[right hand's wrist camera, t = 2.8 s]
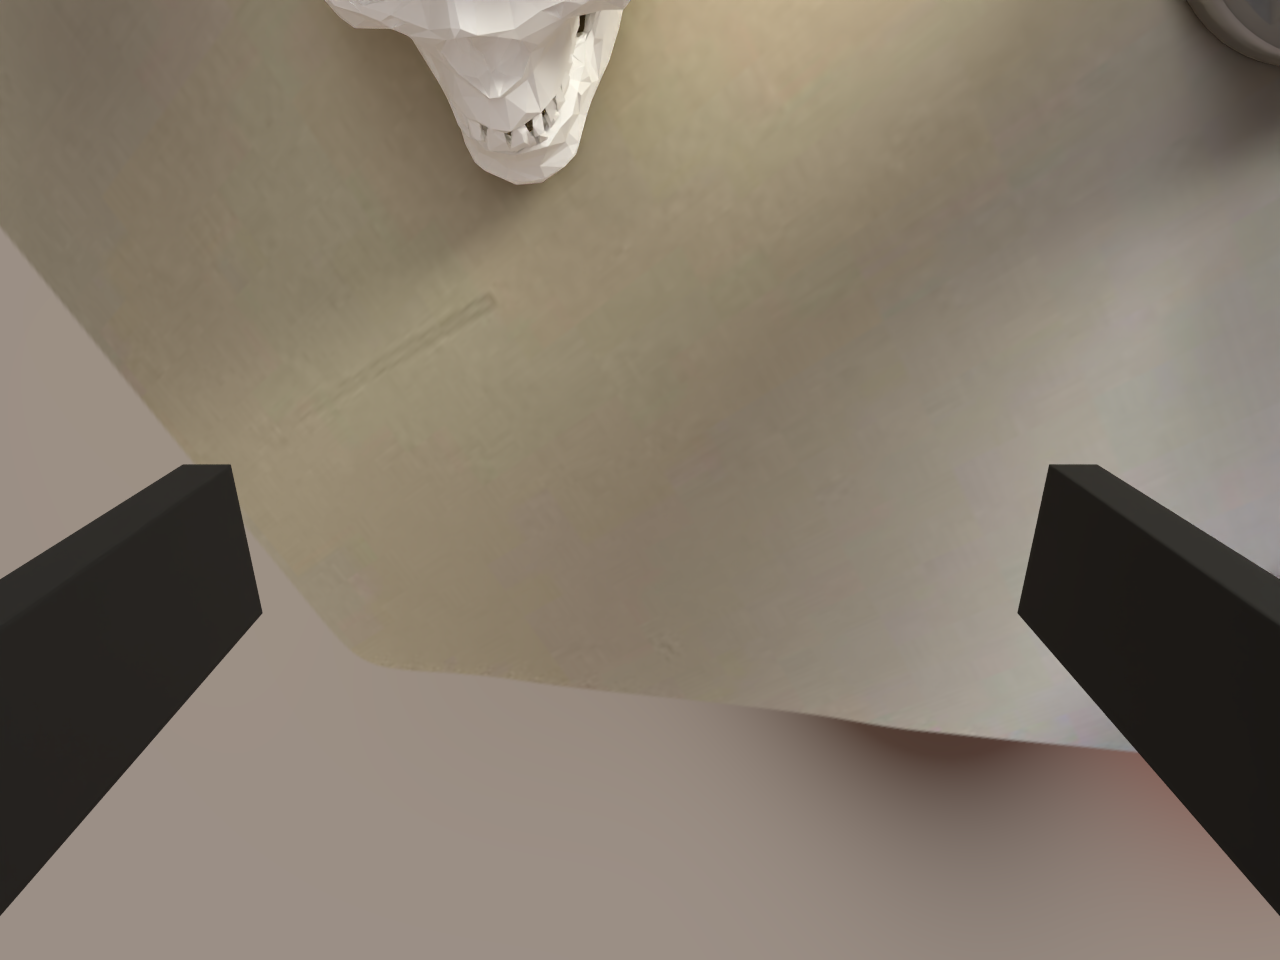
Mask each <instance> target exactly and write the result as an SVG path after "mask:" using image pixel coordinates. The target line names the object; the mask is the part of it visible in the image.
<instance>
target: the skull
mask: <svg viewBox="0 0 1280 960" xmlns="http://www.w3.org/2000/svg"><path fill="white" fill-rule="evenodd" d="M325 1H326V3H327V4H328V5H329V6H330V7H331V8H332V9H333V10H334V12H335V13H336V14H337V15H338V16H339V17H340V18H341V19H343V20H344V21H345V22H347V23H348V24H350V25H351V26H352V27H354V28H371V29H393V30H395V31H398V32H400V33H402V34H405V35H407V36H409V37H410V38H411V39H412V40H413V42H414V43H415V45H416V47H417V48H418V50H419V52H420V53H421V55H422V56H423V58H424V60H425V61H426V63H427V65H428V66H429V68H430V69H431V71H432V73H433V74H434V76H435V78H436V79H437V81H438V83H439V84H440V86H441V88H442V90H443V92H444V94H445V95H446V97H447V100H448V102H449V104H450V106H451V108H452V111H453V113H454V116H455V118H456V121H457V123H458V126H459V127H460V128H461V131H462V135H463V138H464V142H465V144H466V146H467V148H468V150H469V152H470V154H471V156H472V158H473V160H474V162H475V163H476V164H477V165H479V166H480V167H481V168H482V169H483V170H485V171H486V172H489V173H491V174H493V175H495V176H498V177H500V178H502V179H504V180H507V181H509V182H511V183H513V184H515V185H520V184H532V183H542V182H544V181H545V180H546V179H548V178H549V177H551V176H552V175H554V174H555V173H556V172H558V171H559V170H561V169H562V168H564V167H565V166H566V164H567V163H568V162H569V161H570V160H571V159H572V158H573V157H574V156H575V155H576V153H577V150H578V146H579V143H580V139H581V135H582V131H583V127H584V124H585V120H586V116H587V113H588V110H589V107H590V104H591V101H592V98H593V96H594V94H595V92H596V89H597V87H598V85H599V83H600V81H601V78H602V76H603V74H604V72H605V69H606V67H607V65H608V63H609V60H610V57H611V54H612V50H613V47H614V44H615V40H616V37H617V33H618V30H619V26H620V22H621V17H622V12H623V10H624V8H625V7H626V6H627V5H628V3H629V2H630V1H631V0H325ZM585 14H586V16H585V24H584V31H583V32H580V33H577V31H578V28H579V16H581V15H585ZM552 99H553V100H552ZM544 109H545V110H546V113H545V115H544V116H543V117H542V111H543V110H544ZM531 119H532V123H533V130H532V131H530V132H529V131H528V129H527V127H526V126H525V123H527V122H528V121H530V120H531ZM508 132H511V136H510V135H508V134H507V133H508Z"/></svg>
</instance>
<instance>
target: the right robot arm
mask: <svg viewBox="0 0 1280 960" xmlns="http://www.w3.org/2000/svg"><path fill="white" fill-rule="evenodd" d="M1187 2H1188V3H1189V5H1190V6H1191V8H1192V10H1193V11H1194V13H1195V14H1196V16H1197V17H1198V18H1199V19H1200V21H1201V22H1202V23H1203V24H1204V25H1205V27H1206V28H1207V29H1208V30H1209V31H1210V32H1211V33H1213V34H1214V35H1215V36H1216V37H1217V38H1218V39H1219V40H1220V41H1222V42H1223V43H1225V44H1226V45H1227V46H1229V47H1230V48H1232V49H1233V50H1235V51H1237V52H1239V53H1241V54H1243V55H1245V56H1247V57H1249V58H1252V59H1255V60H1258V61H1260V62H1264V63H1268V64H1272V65H1276V66H1280V0H1187ZM261 614H262V608H261V604H260V599H259V594H258V590H257V585H256V580H255V576H254V571H253V566H252V562H251V557H250V552H249V548H248V543H247V538H246V534H245V529H244V524H243V520H242V515H241V510H240V506H239V501H238V496H237V492H236V487H235V482H234V478H233V473H232V468H231V465H182V466H180V467H178V468H177V469H175V470H173V471H172V472H170V473H169V474H167V475H166V476H164V477H162V478H161V479H159V480H158V481H156V482H154V483H153V484H151V485H150V486H148V487H147V488H145V489H143V490H142V491H140V492H138V493H137V494H135V495H134V496H132V497H131V498H129V499H127V500H126V501H124V502H123V503H121V504H119V505H118V506H116V507H115V508H113V509H112V510H110V511H108V512H107V513H105V514H103V515H102V516H100V517H99V518H97V519H96V520H94V521H92V522H91V523H89V524H88V525H86V526H84V527H83V528H81V529H80V530H78V531H77V532H75V533H73V534H72V535H70V536H69V537H67V538H65V539H64V540H62V541H61V542H59V543H57V544H56V545H54V546H53V547H51V548H49V549H48V550H46V551H45V552H43V553H42V554H40V555H38V556H37V557H35V558H34V559H32V560H30V561H29V562H27V563H26V564H24V565H22V566H21V567H19V568H18V569H16V570H15V571H13V572H11V573H10V574H8V575H6V576H5V577H3V578H2V579H0V915H1V914H2V913H3V912H4V911H5V910H6V908H7V907H8V906H9V905H10V904H11V903H12V902H13V901H14V899H15V898H16V897H17V896H18V895H19V894H20V892H21V891H22V890H23V889H24V888H25V887H26V885H27V884H28V883H29V882H30V881H31V880H32V879H33V877H34V876H35V875H36V874H37V873H38V872H39V870H40V869H41V868H42V867H43V866H44V865H45V864H46V862H47V861H48V860H49V859H50V858H51V857H52V855H53V854H54V853H55V852H56V851H57V850H58V849H59V847H60V846H61V845H62V844H63V843H64V842H65V840H66V839H67V838H68V837H69V836H70V835H71V833H72V832H73V831H74V830H75V829H76V828H77V827H78V825H79V824H80V823H81V822H82V821H83V820H84V819H85V817H86V816H87V815H88V814H89V813H90V812H91V810H92V809H93V808H94V807H95V806H96V805H97V804H98V802H99V801H100V800H101V799H102V798H103V796H104V795H105V794H106V793H107V792H108V791H109V790H110V788H111V787H112V786H113V785H114V784H115V783H116V782H117V780H118V779H119V778H120V777H121V776H122V775H123V773H124V772H125V771H126V770H127V769H128V768H129V767H130V765H131V764H132V763H133V762H134V761H135V760H136V758H137V757H138V756H139V755H140V754H141V753H142V752H143V750H144V749H145V748H146V747H147V746H148V745H149V743H150V742H151V741H152V740H153V739H154V738H155V737H156V735H157V734H158V733H159V732H160V731H161V730H162V728H163V727H164V726H165V725H166V724H167V723H168V722H169V720H170V719H171V718H172V717H173V716H174V715H175V713H176V712H177V711H178V710H179V709H180V708H181V707H182V705H183V704H184V703H185V702H186V701H187V700H188V698H189V697H190V696H191V695H192V694H193V693H194V692H195V690H196V689H197V688H198V687H199V686H200V685H201V683H202V682H203V681H204V680H205V679H206V678H207V677H208V675H209V674H210V673H211V672H212V671H213V670H214V668H215V667H216V666H217V665H218V664H219V663H220V662H221V660H222V659H223V658H224V657H225V656H226V655H227V653H228V652H229V651H230V650H231V649H232V648H233V647H234V645H235V644H236V643H237V642H238V641H239V639H240V638H241V637H242V636H243V635H244V634H245V633H246V631H247V630H248V629H249V628H250V627H251V626H252V625H253V623H254V622H255V621H256V620H257V619H258V618H259V616H260V615H261ZM1018 614H1019V615H1020V616H1021V618H1022V619H1023V620H1024V621H1025V622H1026V623H1027V625H1028V626H1029V627H1030V628H1031V629H1032V630H1033V631H1034V633H1035V634H1036V635H1037V636H1038V637H1039V638H1040V640H1041V641H1042V642H1043V643H1044V644H1045V645H1046V647H1047V648H1048V649H1049V650H1050V651H1051V652H1052V653H1053V655H1054V656H1055V657H1056V658H1057V659H1058V660H1059V662H1060V663H1061V664H1062V665H1063V666H1064V667H1065V668H1066V670H1067V671H1068V672H1069V673H1070V674H1071V675H1072V677H1073V678H1074V679H1075V680H1076V681H1077V682H1078V683H1079V685H1080V686H1081V687H1082V688H1083V689H1084V690H1085V692H1086V693H1087V694H1088V695H1089V696H1090V697H1091V698H1092V700H1093V701H1094V702H1095V703H1096V704H1097V705H1098V707H1099V708H1100V709H1101V710H1102V711H1103V712H1104V713H1105V715H1106V716H1107V717H1108V718H1109V719H1110V720H1111V722H1112V723H1113V724H1114V725H1115V726H1116V727H1117V728H1118V730H1119V731H1120V732H1121V733H1122V734H1123V735H1124V737H1125V738H1126V739H1127V740H1128V741H1129V742H1130V743H1131V745H1132V746H1133V747H1134V748H1135V749H1136V750H1137V752H1138V753H1139V754H1140V755H1141V756H1142V757H1143V758H1144V760H1145V761H1146V762H1147V763H1148V764H1149V765H1150V767H1151V768H1152V769H1153V770H1154V771H1155V772H1156V773H1157V775H1158V776H1159V777H1160V778H1161V779H1162V780H1163V781H1164V783H1165V784H1166V785H1167V786H1168V787H1169V789H1170V790H1171V791H1172V792H1173V793H1174V794H1175V795H1176V797H1177V798H1178V799H1179V800H1180V801H1181V802H1182V803H1183V805H1184V806H1185V807H1186V808H1187V809H1188V810H1189V812H1190V813H1191V814H1192V815H1193V816H1194V817H1195V819H1196V820H1197V821H1198V822H1199V823H1200V824H1201V825H1202V827H1203V828H1204V829H1205V830H1206V831H1207V832H1208V834H1209V835H1210V836H1211V837H1212V838H1213V839H1214V840H1215V842H1216V843H1217V844H1218V845H1219V846H1220V847H1221V849H1222V850H1223V851H1224V852H1225V853H1226V854H1227V855H1228V857H1229V858H1230V859H1231V860H1232V861H1233V862H1234V864H1235V865H1236V866H1237V867H1238V868H1239V869H1240V870H1241V872H1242V873H1243V874H1244V875H1245V876H1246V877H1247V879H1248V880H1249V881H1250V882H1251V883H1252V884H1253V885H1254V887H1255V888H1256V889H1257V890H1258V891H1259V892H1260V894H1261V895H1262V896H1263V897H1264V898H1265V899H1266V901H1267V902H1268V903H1269V904H1270V905H1271V906H1272V907H1273V909H1274V910H1275V911H1276V912H1277V913H1278V914H1279V916H1280V579H1278V578H1277V577H1275V576H1274V575H1272V574H1270V573H1269V572H1267V571H1266V570H1264V569H1262V568H1261V567H1259V566H1258V565H1256V564H1254V563H1253V562H1251V561H1250V560H1248V559H1246V558H1245V557H1243V556H1242V555H1240V554H1239V553H1237V552H1235V551H1234V550H1232V549H1231V548H1229V547H1227V546H1226V545H1224V544H1223V543H1221V542H1219V541H1218V540H1216V539H1215V538H1213V537H1211V536H1210V535H1208V534H1207V533H1205V532H1204V531H1202V530H1200V529H1199V528H1197V527H1196V526H1194V525H1192V524H1191V523H1189V522H1188V521H1186V520H1184V519H1183V518H1181V517H1180V516H1178V515H1177V514H1175V513H1173V512H1172V511H1170V510H1169V509H1167V508H1165V507H1164V506H1162V505H1161V504H1159V503H1157V502H1156V501H1154V500H1153V499H1151V498H1149V497H1148V496H1146V495H1145V494H1143V493H1142V492H1140V491H1138V490H1137V489H1135V488H1134V487H1132V486H1130V485H1129V484H1127V483H1126V482H1124V481H1122V480H1121V479H1119V478H1118V477H1116V476H1114V475H1113V474H1111V473H1110V472H1108V471H1107V470H1105V469H1103V468H1102V467H1100V466H1099V465H1049V468H1048V473H1047V478H1046V482H1045V487H1044V492H1043V496H1042V501H1041V506H1040V510H1039V515H1038V520H1037V524H1036V529H1035V534H1034V538H1033V543H1032V548H1031V552H1030V557H1029V562H1028V566H1027V571H1026V576H1025V580H1024V585H1023V590H1022V594H1021V599H1020V604H1019V608H1018Z"/></svg>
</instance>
